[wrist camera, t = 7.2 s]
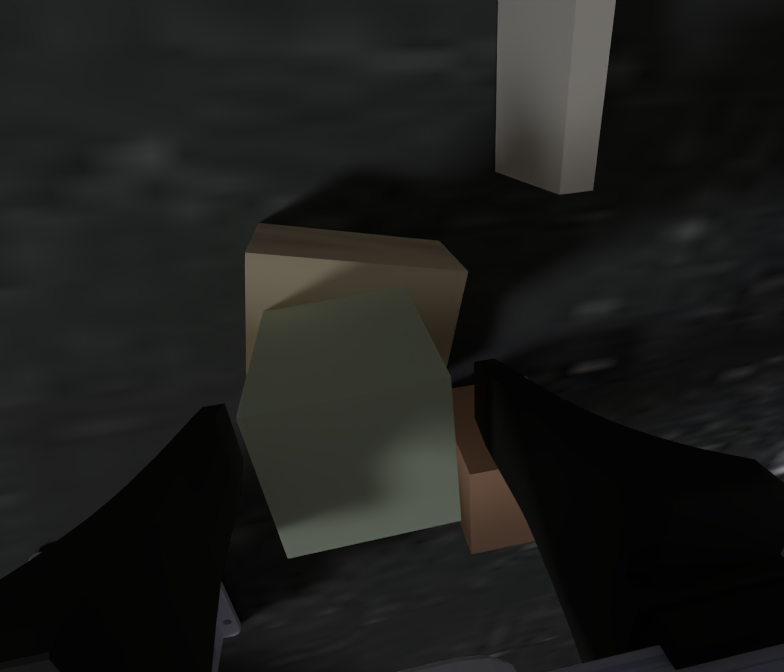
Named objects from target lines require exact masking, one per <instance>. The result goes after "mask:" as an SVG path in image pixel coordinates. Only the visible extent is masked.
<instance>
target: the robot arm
mask: <svg viewBox="0 0 784 672" xmlns="http://www.w3.org/2000/svg"><path fill="white" fill-rule="evenodd" d="M474 417H475V420H476V422H477V425H478V428H479V430H480V433H481V436H482V438H483V441H484V443H485V446H486V447H487V449H488V451H489V453H490V455H491V457H492V459H493V460H494V462H495V464H496V466H497V468H498V470H499V471H500V473H501V475H502V477H503V478H504V480H505V482H506V484H507V486H508V487H509V489H510V491H511V493H512V495H513V496H514V498H515V500H516V502H517V504H518V505H519V507H520V509H521V511H522V513H523V515H524V517H525V519H526V521H527V523H528V526H529V528H530V530H531V533H532V535H533V537H534V540H535V542H536V544H537V547H538V549H539V551H540V554H541V556H542V558H543V561H544V563H545V566H546V568H547V571H548V573H549V576H550V578H551V581H552V583H553V586H554V588H555V591H556V593H557V596H558V598H559V601H560V604H561V606H562V609H563V612H564V614H565V617H566V619H567V622H568V625H569V627H570V630H571V633H572V635H573V638H574V641H575V644H576V647H577V649H578V652H579V655H580V658H581V661H582V664H578V665H573V666H569V667H565V668H561V669H557V670H553V671H548V672H784V557H783V556H782V555H781V552H782V550H783V548H784V483H783V482H782V481H781V480H780V479H778V478H777V477H776V476H775V475H773V474H772V473H771V472H770V471H768V470H767V469H766V468H765V467H763V466H762V465H761V464H760V463H758V462H757V461H756V460H754V459H749V458H744V457H739V456H734V455H729V454H724V453H719V452H714V451H709V450H704V449H700V448H696V447H692V446H688V445H684V444H680V443H677V442H673V441H669V440H666V439H662V438H659V437H655V436H652V435H649V434H646V433H643V432H640V431H637V430H634V429H631V428H628V427H625V426H623V425H620V424H617V423H615V422H612V421H610V420H607V419H605V418H603V417H600V416H598V415H596V414H593V413H591V412H589V411H586V410H584V409H582V408H580V407H578V406H576V405H574V404H572V403H570V402H568V401H566V400H564V399H562V398H560V397H558V396H557V395H555V394H553V393H551V392H549V391H548V390H546V389H544V388H542V387H541V386H539V385H537V384H535V383H534V382H532V381H530V380H529V379H527V378H526V377H524V376H522V375H521V374H519V373H517V372H516V371H514V370H513V369H511V368H509V367H508V366H506V365H504V364H503V363H501V362H499V361H498V360H496V359H489V360H483V361H477V362H474ZM242 470H243V456H242V453H241V450H240V447H239V444H238V441H237V438H236V436H235V433H234V430H233V427H232V424H231V421H230V418H229V415H228V412H227V409H226V406H225V404H219V405H213V406H207V407H202V408H201V409H200V410H199V411H198V412H197V413H196V414H195V415H194V416H193V417H192V418H191V419H190V421H189V422H188V423H187V424H186V425H185V426H184V427H183V428H182V429H181V430H180V431H179V433H178V434H177V435H176V436H175V437H174V438H173V439H172V440H171V441H170V442H169V443H168V444H167V445H166V447H165V448H164V449H163V450H162V451H161V452H160V453H159V454H158V455H157V456H156V457H155V458H154V459H153V460H152V461H151V462H150V463H149V464H148V465H147V466H146V467H145V468H144V469H143V470H142V471H141V472H140V473H139V474H138V475H137V476H136V477H135V478H134V479H133V480H132V481H131V482H130V483H129V484H127V485H126V486H125V487H124V488H123V489H122V490H121V491H120V492H119V493H118V494H116V495H115V496H114V497H113V498H112V499H111V500H109V501H108V502H107V503H106V504H105V505H103V506H102V507H101V508H100V509H99V510H97V511H96V512H95V513H94V514H93V515H91V516H90V517H89V518H88V519H86V520H85V521H84V522H82V523H81V524H80V525H78V526H77V527H76V528H74V529H73V530H72V531H70V532H69V533H68V534H66V535H65V536H63V537H62V538H61V539H59V540H58V541H57V542H55V543H54V544H53V545H51V546H50V547H49V548H47V549H46V550H44V551H43V552H38V553H35V554H33V555H32V556H31V557H30V559H29V560H28V562H27V563H25V564H24V565H22V566H21V567H19V568H18V569H16V570H14V571H13V572H11V573H10V574H8V575H7V576H5V577H3V578H2V579H0V672H218V667H219V662H220V656H221V650H222V644H223V638H227V637H231V636H235V635H237V634H238V633H239V632H240V630H241V623H240V621H239V619H238V616H237V614H236V612H235V610H234V608H233V605H232V603H231V601H230V599H229V596H228V594H227V592H226V590H225V588H224V585H223V583H222V576H223V570H224V565H225V561H226V556H227V552H228V547H229V543H230V538H231V534H232V529H233V525H234V521H235V516H236V511H237V507H238V502H239V497H240V492H241V483H242ZM397 672H516V670H515V668H514V666H513V665H512V664H510V663H508V662H506V661H503V660H500V659H497V658H494V657H491V656H488V655H478V656H466V657H457V658H453V659H448V660H444V661H440V662H435V663H431V664H427V665H422V666H418V667H414V668H409V669H405V670H401V671H397Z"/></svg>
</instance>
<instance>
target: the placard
mask: <svg viewBox="0 0 784 672" xmlns="http://www.w3.org/2000/svg"><path fill="white" fill-rule="evenodd" d="M615 3H616V0H498V37H497V93H496V149H495V172H497V173H500V174H503V175H506V176H509V177H511V178H514V179H517V180H520V181H523V182H525V183H528V184H531V185H534V186H536V187H539V188H542V189H545V190H548V191H550V192H553V193H556V194H559V195H561V194H569V193H577V192H584V191H592V190H593V186H594V178H595V169H596V161H597V153H598V144H599V136H600V128H601V119H602V111H603V103H604V95H605V86H606V78H607V70H608V61H609V53H610V45H611V36H612V28H613V20H614V11H615Z"/></svg>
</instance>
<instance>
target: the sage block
mask: <svg viewBox="0 0 784 672" xmlns="http://www.w3.org/2000/svg"><path fill="white" fill-rule="evenodd" d="M236 420H237V423H238V426H239V428H240V431H241V434H242V436H243V439H244V442H245V445H246V447H247V450H248V453H249V455H250V458H251V461H252V463H253V466H254V469H255V472H256V474H257V477H258V480H259V482H260V485H261V488H262V490H263V493H264V496H265V499H266V501H267V504H268V507H269V509H270V512H271V515H272V517H273V520H274V523H275V525H276V528H277V531H278V534H279V536H280V539H281V542H282V544H283V547H284V550H285V552H286V555H287V558H288V559H289V558H294V557H298V556H303V555H307V554H312V553H316V552H321V551H325V550H330V549H334V548H339V547H344V546H348V545H353V544H357V543H362V542H366V541H371V540H375V539H380V538H384V537H389V536H393V535H398V534H403V533H407V532H412V531H416V530H421V529H425V528H430V527H434V526H439V525H443V524H448V523H452V522H457V521H461V510H460V496H459V482H458V468H457V454H456V440H455V426H454V412H453V398H452V384H451V376H450V374H449V372H448V370H447V368H446V366H445V364H444V362H443V360H442V358H441V356H440V354H439V352H438V350H437V348H436V346H435V344H434V342H433V340H432V338H431V336H430V334H429V332H428V331H427V329H426V327H425V325H424V323H423V321H422V319H421V317H420V315H419V313H418V311H417V309H416V307H415V305H414V303H413V301H412V299H411V297H410V295H409V293H408V291H407V289H406V287H405V286H403V287H398V288H392V289H386V290H381V291H375V292H369V293H364V294H358V295H352V296H347V297H341V298H335V299H330V300H324V301H318V302H313V303H307V304H301V305H296V306H290V307H285V308H279V309H273V310H268V311H263V314H262V318H261V321H260V325H259V329H258V333H257V337H256V341H255V345H254V349H253V353H252V357H251V361H250V365H249V369H248V373H247V376H246V380H245V384H244V388H243V392H242V396H241V400H240V404H239V408H238V412H237V416H236Z"/></svg>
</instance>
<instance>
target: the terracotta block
mask: <svg viewBox="0 0 784 672" xmlns="http://www.w3.org/2000/svg"><path fill="white" fill-rule="evenodd" d="M524 377H526V378H527V379H528V377H527V376H524ZM452 398H453V412H454V426H455V440H456V454H457V468H458V482H459V496H460V510H461V521H460V524H461V527H462V530H463V533H464V536H465V538H466V541H467V544H468V547H469V550H470V553H471V554H474V553H479V552H484V551H489V550H494V549H498V548H503V547H508V546H513V545H518V544H522V543H527V542H532V541H535V540H534V537H533V535H532V533H531V530H530V528H529V526H528V523H527V521H526V519H525V517H524V515H523V513H522V511H521V509H520V507H519V505H518V504H517V502H516V500H515V498H514V496H513V495H512V493H511V491H510V489H509V487H508V486H507V484H506V482H505V480H504V478H503V477H502V475H501V473H500V471H499V470H498V468H497V466H496V464H495V462H494V460H493V459H492V457H491V455H490V453H489V451H488V449H487V447H486V446H485V443H484V441H483V438H482V436H481V433H480V430H479V428H478V425H477V422H476V420H475V417H474V385H469V386H464V387H458V388H452Z"/></svg>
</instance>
